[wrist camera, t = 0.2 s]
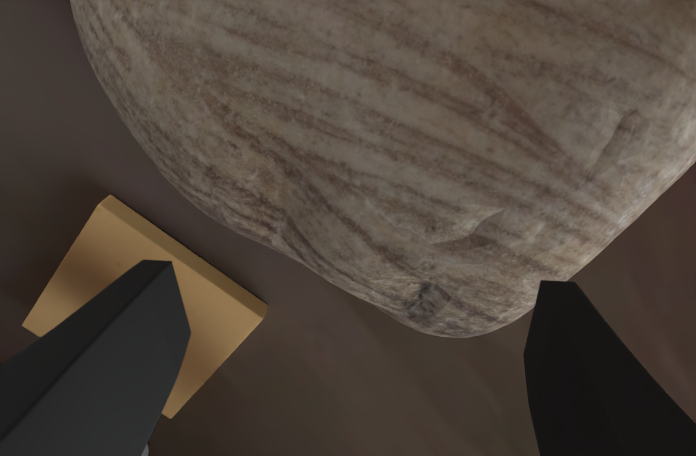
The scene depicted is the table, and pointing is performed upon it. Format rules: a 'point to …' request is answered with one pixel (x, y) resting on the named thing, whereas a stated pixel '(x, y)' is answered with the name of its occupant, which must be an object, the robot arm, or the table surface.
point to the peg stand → (193, 280)
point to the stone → (410, 133)
